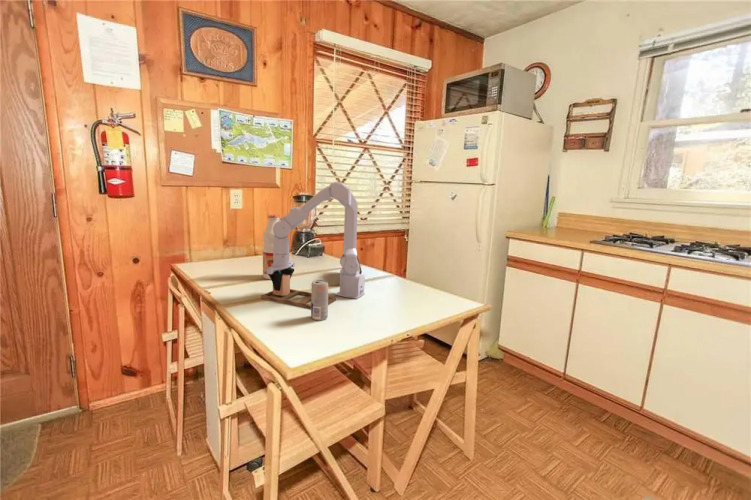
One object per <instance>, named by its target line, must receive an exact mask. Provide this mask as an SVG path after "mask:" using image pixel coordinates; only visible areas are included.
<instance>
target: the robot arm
mask: <svg viewBox="0 0 751 500" xmlns="http://www.w3.org/2000/svg"><path fill="white" fill-rule="evenodd" d="M333 199H334V200H336V201H338V202H339V203H340V205H342V206H343V207H344V222H343V223H344V227H343V249H342V255H341V257H340V260H339V264H340V266H341V267H342V268H341V269H340V270H339V291H338V292H336V293H334V295H335V296H337V297H345V298H350V299H355V300H358V299H359V298H361V297H362V296H364V295H365V294H366V293H365V284H366V283H365V282H366V281H365V275H364V274H362V273H361V274H359V273H358V272H359V271H358V270H359V263H360V261H359V262H358V260H357V255H358V251H357V238H358V237H357V234H358V207H359V203H358V201H357V199H356V198H355V196H354V194H353V192H352V191H351V188H350V187H349V186H347V185H346V184H345V183H344V182H341V181H334V182H332V183H330V184H329V185H326V187H324V188H322V189H321V190H320V191H318V192H317V193H316V194H315V195H313V196H312V197H311V198H310V199H309V200H308V201H307V202H305V203H304V204H303V205H302V206H295V207H291V208H290V209H289V212H288V213H286V214H285V215H284V216H281V217H280V218H279V221H278V222H276V223H275V225H274V227H273V233H274V241H273V264H271V267H269V268H267V274H268V275H269V276H270V278H271V282H272V287H273V286H274V290H277V291H280V288H281V280H282V276H283V274H286V275H290V279H292V276H293V273H294V272H295V268H294V267H295V266H296V262H295V261H293V260H290V240H289V235H290V233H291V231H293V230H295V229H296V228H297V227H298V226H299V225H301V224H302V223H303V222H305V221H306V220H307V214H309V213H310V212H311V211H313V209H315V208H316V207H318V206H319V205H320V204H322V203H323V202H324V201H325V202H326V201H332V200H333ZM279 271H280V272H281V273H280V272H279Z"/></svg>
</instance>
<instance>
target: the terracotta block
mask: <svg viewBox="0 0 751 500" xmlns="http://www.w3.org/2000/svg"><path fill="white" fill-rule="evenodd" d="M290 289H291V278H290V275H286V274H283V276H282V280H281V288H280V291H277V290H274V286H273V285H272V291H273V294H274V295H276V296H280V297H283V296H286V295H288V294H290Z"/></svg>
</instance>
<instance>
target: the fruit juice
mask: <svg viewBox="0 0 751 500" xmlns="http://www.w3.org/2000/svg"><path fill="white" fill-rule="evenodd" d="M280 218H281V217H280V215H279V214H268V215H267V219H268V221H267V225H266V227H265V229H264V231H263V233H262V238H263V244H262V277H263V278H264V279H265V280H271V278H270V276H269V275H268V274H267V268H269V267H271V264H273V241H274V233H273V227H274V225H275V223H276V222H278V221H280ZM279 272H280V271H279ZM280 273H281V272H280ZM271 281H272V280H271Z"/></svg>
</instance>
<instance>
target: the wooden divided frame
mask: <svg viewBox="0 0 751 500" xmlns="http://www.w3.org/2000/svg"><path fill="white" fill-rule="evenodd" d="M260 295H261V294H260ZM262 298H263V300H268V301H271V302H278V303H282V304H286V305H287V304H288V305H293V306H297V307H301V308H306V309H311V291H310V292H309V291H304V290H298V289H292V288H290V293H288V294H286V295H284V296H280V297H276V296H274V295H273V290H272V291H269V292H267V293H264V294H262V295H261V299H262ZM336 301H337V297H336V296H331V295H328V306H330V305H331V304H333V303H334V302H336Z"/></svg>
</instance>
